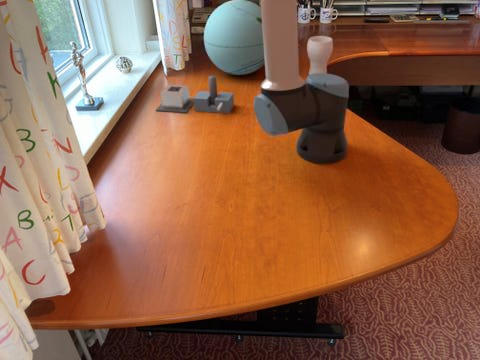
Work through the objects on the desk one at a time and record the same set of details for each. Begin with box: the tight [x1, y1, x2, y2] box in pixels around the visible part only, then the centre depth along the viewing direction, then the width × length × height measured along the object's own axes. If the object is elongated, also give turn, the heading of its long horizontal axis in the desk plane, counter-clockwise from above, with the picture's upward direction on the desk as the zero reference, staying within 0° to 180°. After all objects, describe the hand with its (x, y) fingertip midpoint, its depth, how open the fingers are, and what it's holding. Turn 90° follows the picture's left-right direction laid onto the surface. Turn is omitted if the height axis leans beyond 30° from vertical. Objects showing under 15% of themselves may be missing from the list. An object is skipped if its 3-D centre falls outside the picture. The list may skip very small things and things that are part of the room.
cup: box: [306, 35, 334, 75], centre depth 170 cm, size 11×11×15 cm
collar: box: [160, 84, 191, 109], centre depth 151 cm, size 8×8×6 cm
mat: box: [155, 97, 194, 114], centre depth 153 cm, size 12×12×1 cm
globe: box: [203, 0, 265, 76], centre depth 171 cm, size 30×30×30 cm
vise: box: [192, 75, 235, 114], centre depth 145 cm, size 12×13×12 cm
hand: (203, 3), depth 138 cm, fingers open, 13 cm apart
